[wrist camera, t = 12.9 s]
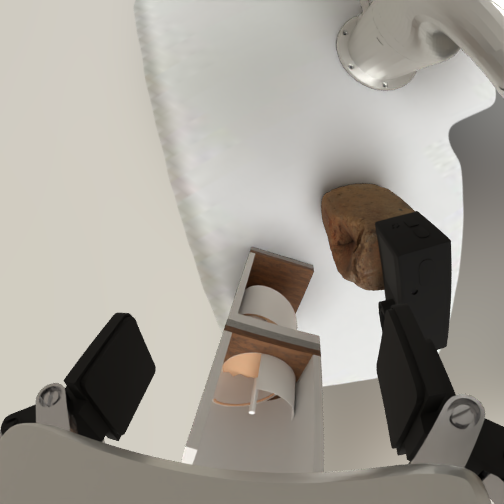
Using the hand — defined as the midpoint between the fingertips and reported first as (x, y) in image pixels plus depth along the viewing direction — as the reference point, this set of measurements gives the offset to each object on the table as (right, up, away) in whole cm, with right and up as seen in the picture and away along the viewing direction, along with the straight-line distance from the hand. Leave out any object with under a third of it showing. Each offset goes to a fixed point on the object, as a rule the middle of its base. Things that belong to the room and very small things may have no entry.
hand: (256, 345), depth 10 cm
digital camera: (+13, +2, +16) cm, 21 cm away
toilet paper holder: (+3, -2, +41) cm, 41 cm away
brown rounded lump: (+15, +10, +33) cm, 38 cm away
